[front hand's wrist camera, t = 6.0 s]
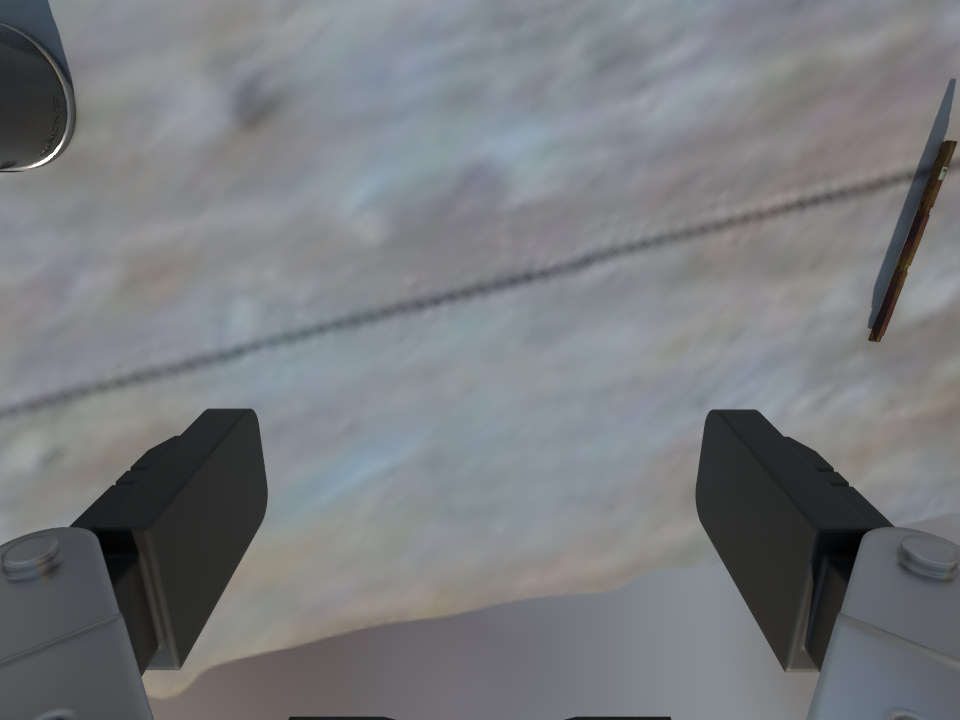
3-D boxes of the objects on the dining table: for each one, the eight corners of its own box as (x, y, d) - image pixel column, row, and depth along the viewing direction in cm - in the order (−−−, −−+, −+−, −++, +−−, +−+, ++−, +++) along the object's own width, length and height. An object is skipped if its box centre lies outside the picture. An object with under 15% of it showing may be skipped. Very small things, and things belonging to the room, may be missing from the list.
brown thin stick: (873, 340, 49) (880, 344, 48) (867, 340, 49) (875, 344, 48) (948, 141, 44) (958, 141, 43) (942, 140, 44) (952, 140, 43)
